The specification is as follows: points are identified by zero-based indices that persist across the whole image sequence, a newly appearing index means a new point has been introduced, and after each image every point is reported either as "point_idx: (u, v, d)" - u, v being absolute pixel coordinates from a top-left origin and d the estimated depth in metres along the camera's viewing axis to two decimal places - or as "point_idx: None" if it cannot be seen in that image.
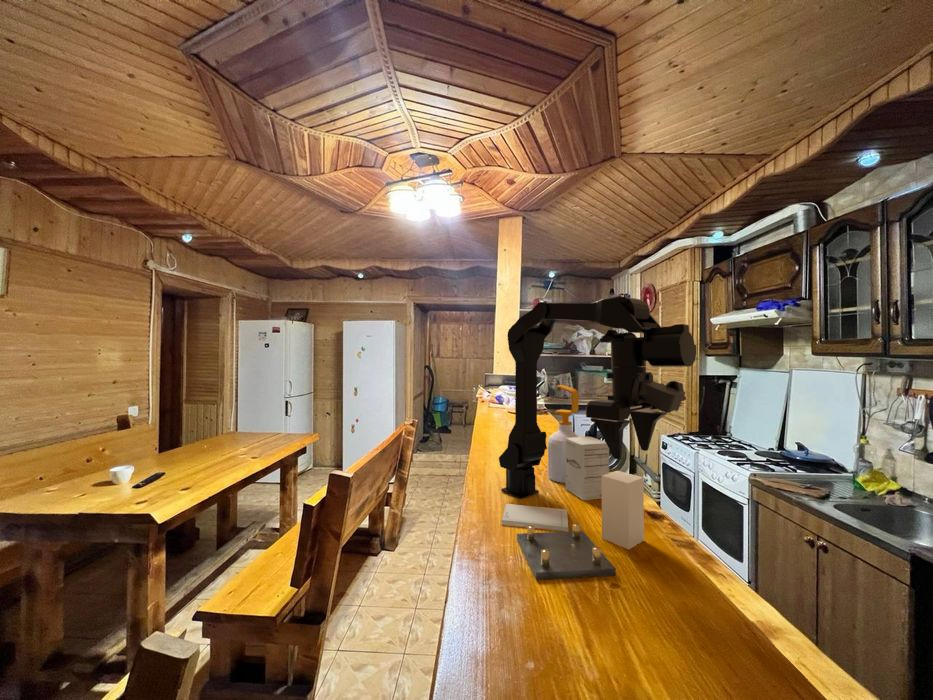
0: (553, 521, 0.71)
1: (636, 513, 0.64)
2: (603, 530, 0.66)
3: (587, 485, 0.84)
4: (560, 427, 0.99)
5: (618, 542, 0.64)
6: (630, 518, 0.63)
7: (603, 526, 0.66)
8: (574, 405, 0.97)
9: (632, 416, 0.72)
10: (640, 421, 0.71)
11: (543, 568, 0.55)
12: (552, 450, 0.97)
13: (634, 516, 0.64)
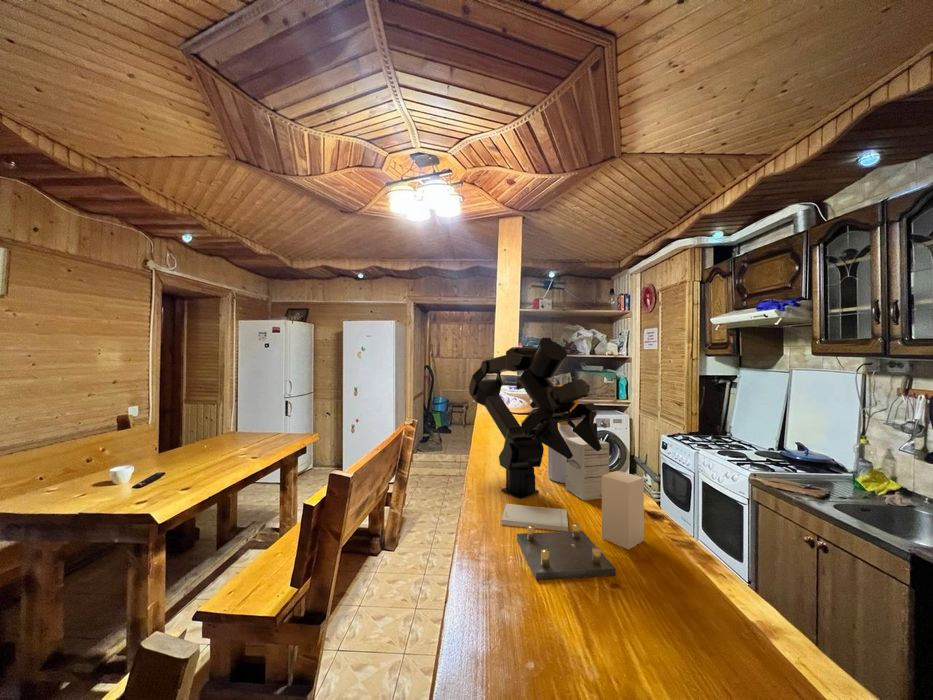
0: (553, 521, 0.71)
1: (636, 513, 0.64)
2: (603, 530, 0.66)
3: (587, 485, 0.84)
4: (560, 427, 0.99)
5: (618, 542, 0.64)
6: (630, 518, 0.63)
7: (603, 526, 0.66)
8: (574, 405, 0.97)
9: (576, 432, 0.80)
10: (582, 430, 0.79)
11: (543, 568, 0.55)
12: (552, 450, 0.97)
13: (634, 516, 0.64)
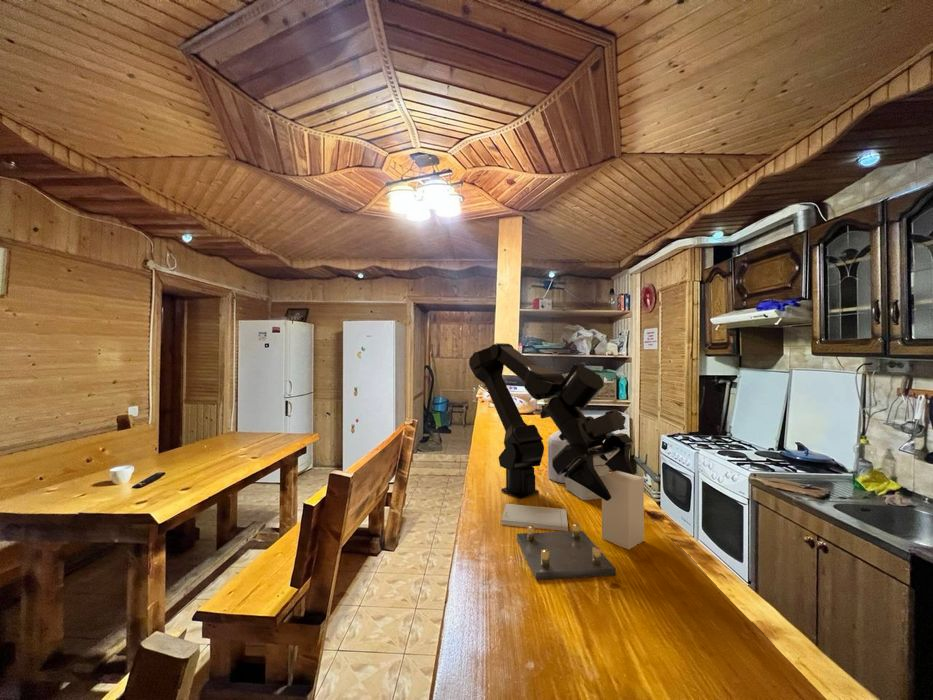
0: (552, 521, 0.71)
1: (636, 513, 0.64)
2: (603, 530, 0.66)
3: None
4: None
5: (618, 542, 0.64)
6: (630, 518, 0.63)
7: (603, 526, 0.66)
8: None
9: (609, 466, 0.74)
10: (616, 464, 0.72)
11: (543, 568, 0.55)
12: (552, 450, 0.97)
13: (634, 516, 0.64)
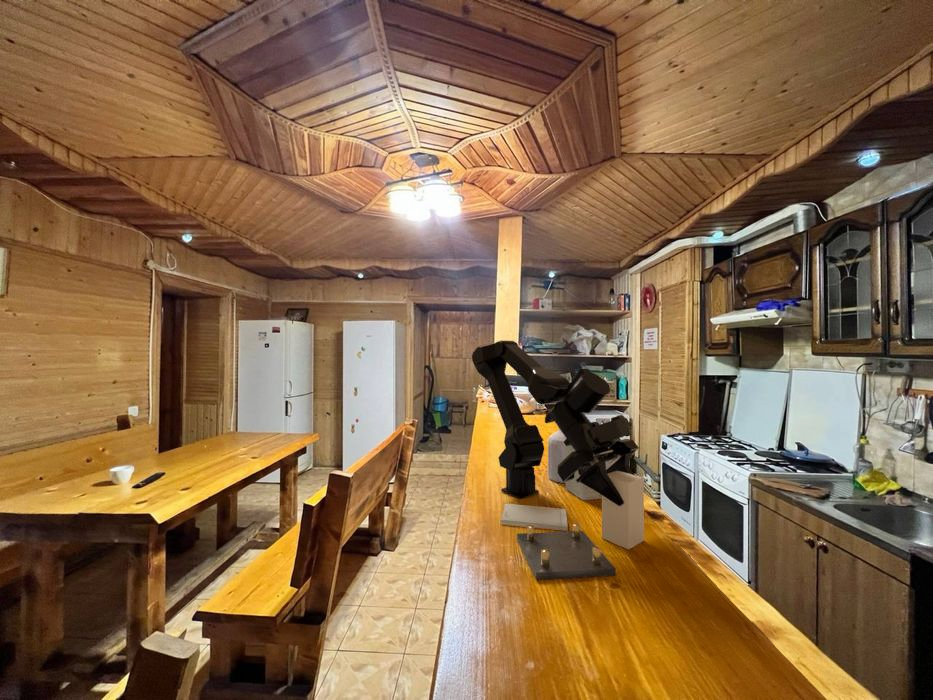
0: (552, 520, 0.71)
1: (636, 513, 0.64)
2: (603, 530, 0.66)
3: None
4: None
5: (618, 542, 0.64)
6: (630, 518, 0.63)
7: (603, 526, 0.66)
8: None
9: None
10: None
11: (543, 568, 0.55)
12: (552, 450, 0.97)
13: (634, 516, 0.64)
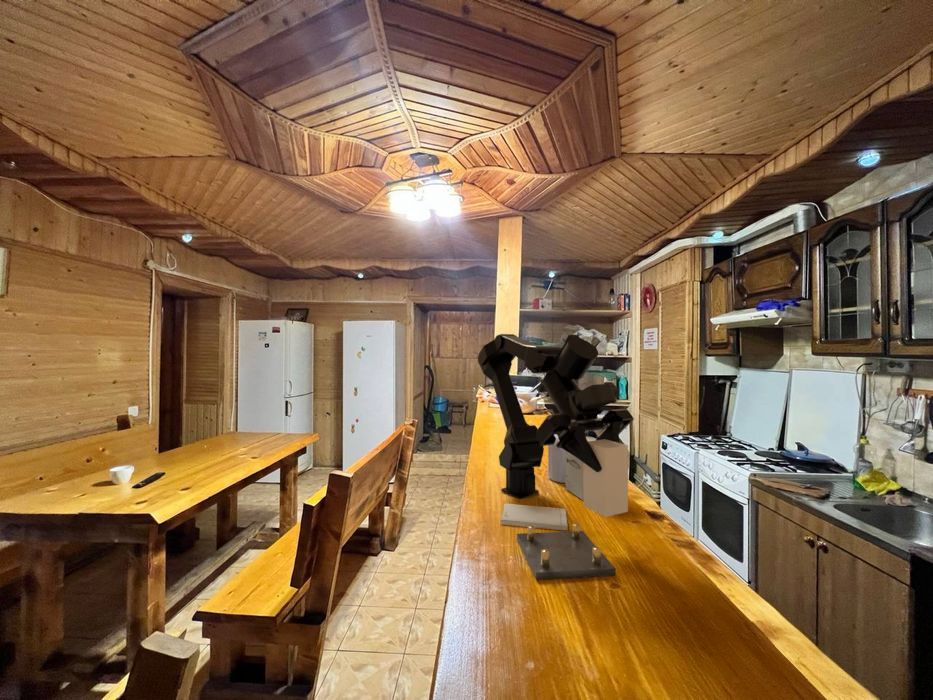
0: (552, 520, 0.71)
1: (617, 481, 0.62)
2: (584, 498, 0.65)
3: None
4: None
5: (597, 509, 0.62)
6: (608, 485, 0.61)
7: (584, 493, 0.65)
8: None
9: None
10: None
11: (543, 568, 0.55)
12: (552, 450, 0.97)
13: (614, 484, 0.61)
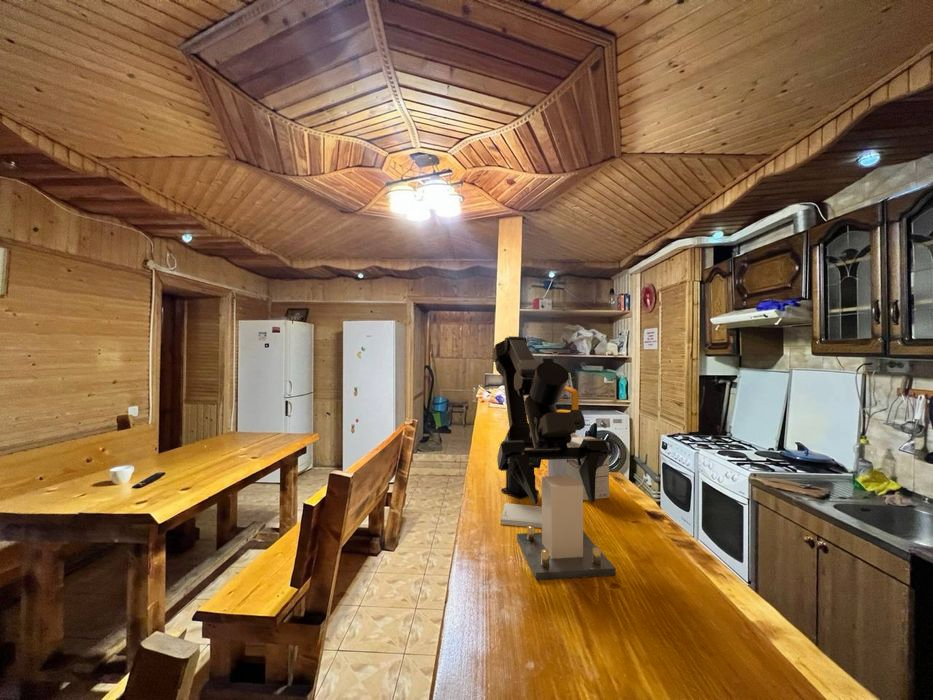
0: None
1: (568, 523, 0.58)
2: (542, 534, 0.63)
3: None
4: None
5: (547, 549, 0.60)
6: (555, 525, 0.58)
7: (542, 530, 0.63)
8: (574, 405, 0.97)
9: (580, 473, 0.66)
10: (583, 472, 0.64)
11: (543, 568, 0.55)
12: None
13: (563, 525, 0.58)
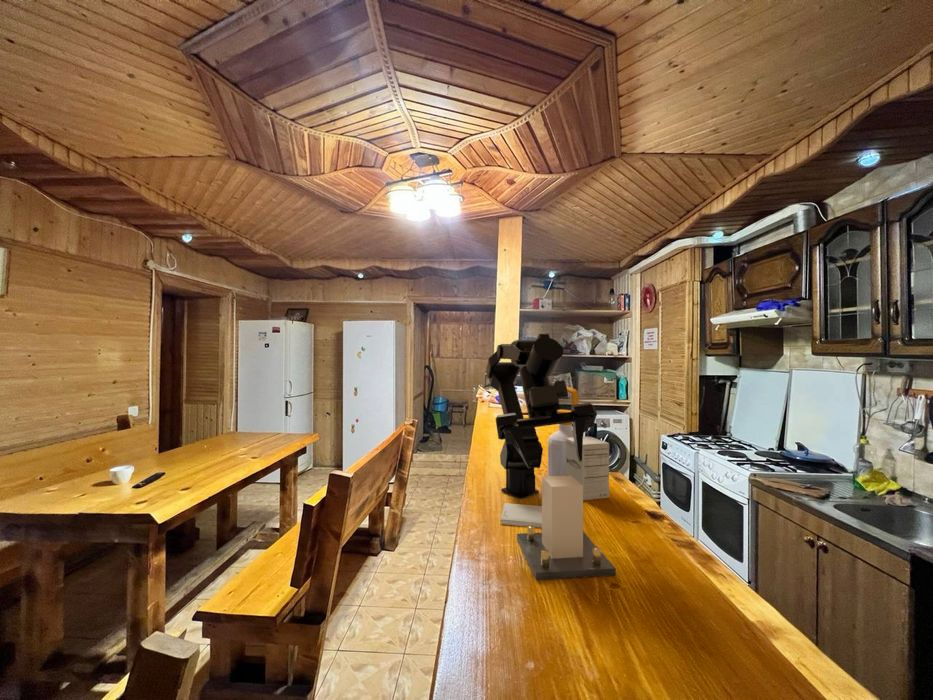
0: None
1: (568, 523, 0.58)
2: (542, 534, 0.63)
3: (587, 485, 0.84)
4: (560, 427, 0.99)
5: (547, 549, 0.60)
6: (555, 525, 0.58)
7: (542, 530, 0.63)
8: None
9: (573, 435, 0.73)
10: (574, 435, 0.71)
11: (543, 568, 0.55)
12: (552, 450, 0.97)
13: (563, 525, 0.58)
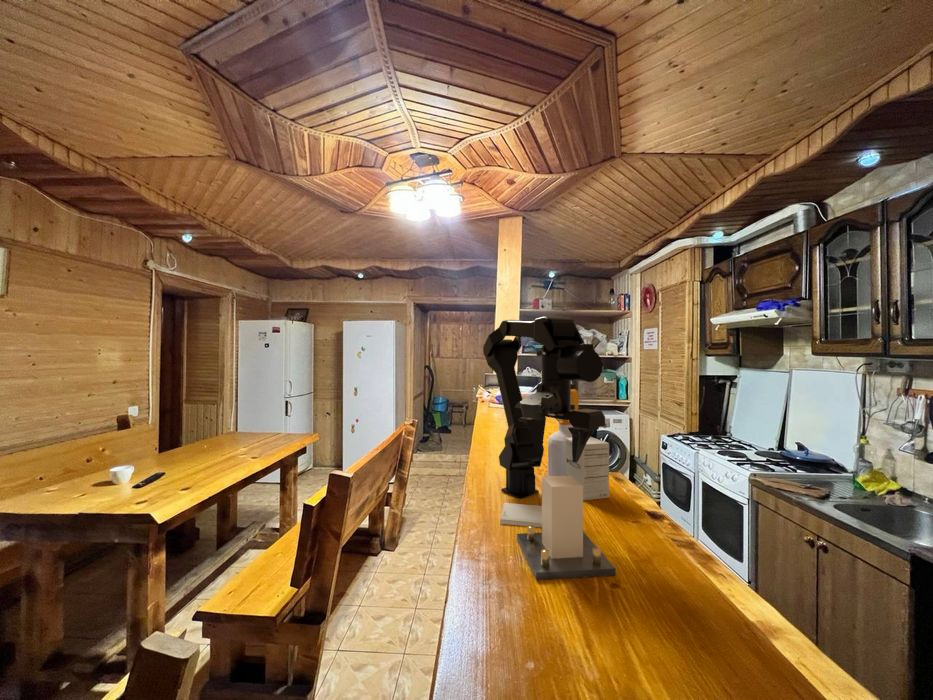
0: None
1: (568, 523, 0.58)
2: (542, 534, 0.63)
3: (587, 485, 0.84)
4: (560, 427, 0.99)
5: (547, 549, 0.60)
6: (555, 525, 0.58)
7: (542, 530, 0.63)
8: None
9: None
10: None
11: (543, 568, 0.55)
12: (552, 450, 0.97)
13: (563, 525, 0.58)
